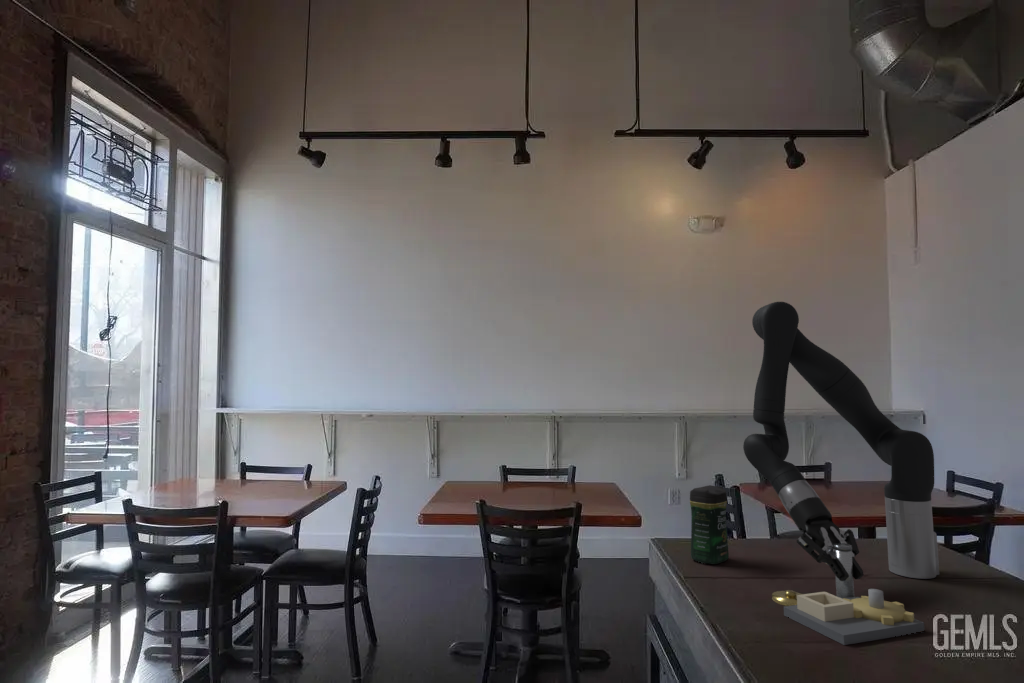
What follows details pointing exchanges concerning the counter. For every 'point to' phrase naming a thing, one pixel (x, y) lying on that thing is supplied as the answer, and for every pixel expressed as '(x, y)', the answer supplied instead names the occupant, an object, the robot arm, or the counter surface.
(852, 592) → the grey cylinder peg
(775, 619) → the counter surface
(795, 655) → the counter surface
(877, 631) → the gear board
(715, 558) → the coffee jar
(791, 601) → the brass knob disc
